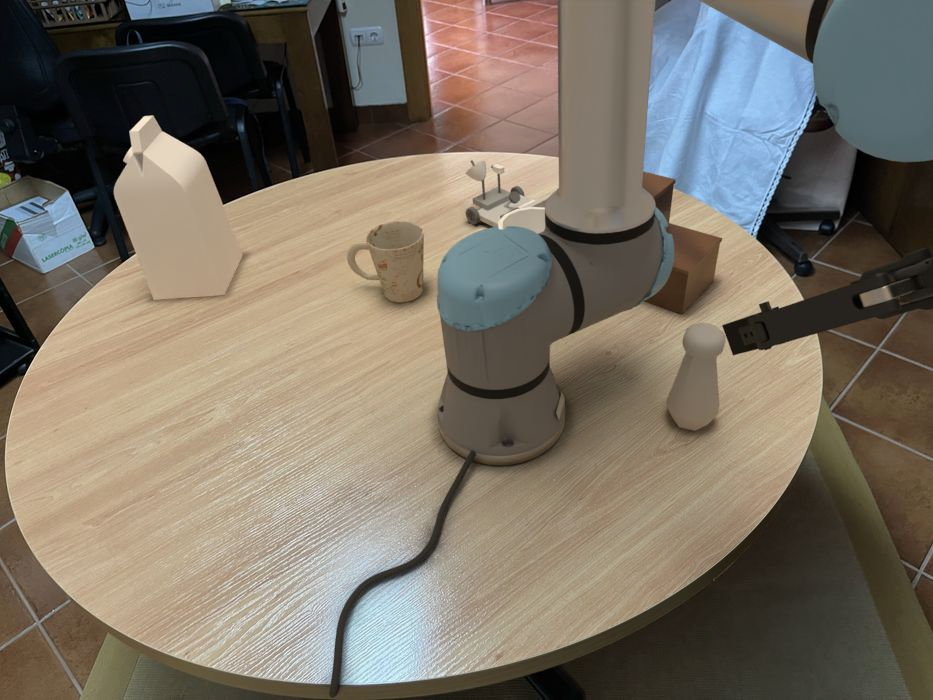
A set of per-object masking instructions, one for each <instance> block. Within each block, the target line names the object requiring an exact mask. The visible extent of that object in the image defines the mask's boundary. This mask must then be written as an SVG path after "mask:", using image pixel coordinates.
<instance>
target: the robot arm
mask: <svg viewBox="0 0 933 700" xmlns="http://www.w3.org/2000/svg"><path fill="white" fill-rule="evenodd" d="M556 1H557V6H556V7H557V116H558V117H557V121H558V123H557V125H558V127H557V130H558V131H557V132H558V134H557V136H558V137H557V138H558V188H557V189H556V190H554V191H555V192H554V191H553V192H554V193H553V194H552V195H550V196H549V198H548V199H547V201H546V203H545V230H544V231H543V232H541V233H538V234H537V233H535V232H534V231H532V230H529V229H526V228H522V227H515V226H507V227H506V228H505V229H502V230H500V229H499V228H498V227H493V226H492V227H488V228H485V229H481V230H478V231H476V232H473V233H471V234H468V235H467V236H465V237H464V238H461V239H460V240H459V241H457V242H456V243H455V244H454V245H453V246H452V247H450V248H449V250H447V252H446V253H445V254H444V256H443V257H442V259H441V262H440V264H439V267H438V270H437V276H436V278H437V279H436V285H437V286H436V287H437V294H436V307H437V310H438V313H439V318H440V324H441V325H440V326H441V332H442V340H443V348H444V355H445V362H446V363H445V364H446V371H447V372H446V375H445V378H444V379H445V380H444V382H443V386H442V389H441V393H440V396H439V400H438V403H437V422H438V429H439V431H440V435H441V437H442V439H443V441H444V442H445V444H447V447H449V448H450V449H451V450H452V451H454V452H455V453H456V454H457V455H459V456H461V457H463V458H465V460H464V462H463V464H462V466H461V468H460V470H459V472H458V473H457V475H456V476H455V479H454V480H453V482H452V484H451V486H450V487H449V490H448V491H447V493H446V495H445V497H444V499H443V501H442V503H441V505H440V507H439V510H438V513H437V515H436V519H435V522H434V526H433V530H432V533H431V535H430V538H429V540H428V541H427V543H426V545H425V547H424V548H423V549H422V550H421V552H419V553H418V554H417V555H416V556H414V557H413V558H411V559H410V560H408V561H407V562H404V563H402V564H400V565H397V566H395V567H392V568H389V569H385V570H383V571H380V572H378V573H376V574H373V575H371V576H370V577H368V578H367V579H365V580H364V581H362V582H361V583H360V584H359V585H358V586H357V587H356V588H355V589H353V592H352V593H351V594H350V596H349V597H348V599H347V600H346V601H345V604H344V605H343V607H342V610H341V612H340V614H339V618H338V622H337V626H336V631H335V638H334V651H333V662H332V663H333V664H332V671H331V672H332V673H331V679H330V685H329V686H330V687H329V694H328V695H329V697H330V698H335V697H336V696H337V695H338V694H339V686H340V680H341V673H342V663H343V650H344V649H343V648H344V637H345V630H346V625H347V621H348V618H349V615H350V613H351V611H352V609H353V607H354V606H355V604H356V602H357V601H358V599H359V598H360V597H361V595H363V593H364V592H365V591H366V590H367V589H369V588H370V587H371V586H373V585H375V584H377V583H378V582H380V581H384V580H385V579H389V578H392V577H395V576H398V575H401V574H402V573H406V572H407V571H410V570H411V569H414V568H415V567H417V566H418V565H419V564H421V563H422V562H424V560H425V559H426V558H428V556H429V555H430V554H431V552H433V549H434V548H435V546H436V544H437V542H438V540H439V537H440V534H441V530H442V528H443V523H444V519H445V516H446V513H447V511H448V508H449V506H450V504H451V502H452V500H453V498H454V496H455V495H456V493H457V491H458V489H459V487H460V485H461V483H462V482H463V480H464V478H465V477H466V474H467V472H468V471H469V469H470V467H471V465H472V464H473V462H474V463H478V464H482V465H488V466H489V465H490V466H511V465H516V464H517V465H518V464H520V463H524V462H528V461H531V460H532V459H533V460H534V459H535V458H537V457H539V456H541V455H543V454H544V453H546V452H547V451H548V450H550V449H551V448H552V447H553V446H554V445H555V444H556V443H557V441H558V440H559V439H560V437H561V435H562V433H563V431H564V429H565V425H566V403H565V400H566V398H565V396H564V394H563V392H562V391H561V389H560V387H559V385H558V384H557V383H556V379H555V376H554V372H553V370H552V368H551V364H550V363H551V361H550V358H551V357H550V356H551V353H550V352H551V345H552V344H553V343H555V342H557V341H559V340H561V339H564V338H566V337H568V336H570V335H573V334H575V333H577V332H579V331H581V330H584V329H586V328H589V327H590V326H593V325H596V324H598V323H600V322H603V321H605V320H607V319H609V318H612V317H614V316H616V315H619V314H621V313H623V312H626V311H630V310H632V309H633V308H636V307H638V306H640V305H642V303H644V302H646V301H645V300H646V299H648V298H650V297H652V296H654V295H655V294H656V293H657V292H659V291H660V290H661V288H662V287H663V286H664V285H665V283H666V282H667V280H668V278H669V276H670V273H671V270H672V267H673V262H674V242H673V236H672V234H668V233H667V227H668V226H669V225H668V223H667V220H666V219H665V217H664V215H663V214H662V213H661V212H660V211H659V209H658V208H657V207H656V203H655V200H654V198H653V197H652V196H651V195H650V194H649V193H648V192H647V191H646V190H645V189H644V188H643V187H642V180H643V171H644V166H645V165H644V164H645V151H646V136H647V125H648V124H647V122H648V111H649V96H650V83H651V82H650V81H651V67H652V55H653V42H654V39H653V37H654V28H655V25H654V24H655V12H656V0H556ZM698 1H699V2H701V3H702V4H704V5H706V6H708V7H710V8H711V9H714V10H715V11H717V12H719V13H721V14H722V15H724V16H726V17H728V18H730V19H732V20H734V21H735V22H736V23H739V24H741V25H742V26H743V27H746V28H748V29H749V30H752V32H755V33H756V34H758V35H761V36H762V37H764V38H766V39H767V40H769V41H771V42H772V43H774V44H776V45H778V46H780V47H782V48H783V49H785V50H787V51H789V52H791V53H793V54H794V55H796V56H797V57H800V58H802V59H804V60H806V61H807V62H809V63H811V64H812V72H813V73H812V74H813V82H814V83H813V84H814V85H813V86H814V91H815V94H816V97H817V99H818V102H819V105H820V106H822V107H823V108H825V111H826V112H827V115H828V117H829V118H830V120H831V122H832V123H833V125H834V128H835V129H834V130H835V132H836V133H837V134H839V136H840V137H841V138H842V139H843V140H844V141H846V142H847V143H849V144H850V145H851V146H852V147H854V148H856V149H857V150H859V151H861V152H863V153H864V154H867V155H870V156H871V157H875V158H878V159H883V160H887V161H891V162H900V163H917V162H927V161H928V162H929V161H933V0H698ZM901 303H902V304H901ZM758 306H759V309H760V311H759V312H757V313H754V314H751V315H748V316H745V317H742V318H739V319H736V320H733V321H731V322H727V323H724V324H722V325H721V327H722V329H723V333H724V335H725V339H726V340H727V343H728V345H729V348H730V351H731V355H732V356H736V355H741V354H744V353H748V352H752V351H757V350H759V351H768V350H771V349H772V348H773V347H775V346H778V345H779V346H780V345H782V344H786V343H789V342H793V341H795V340H799V339H803V338H806V337H809V336H814V335H816V334H821V333H824V332H827V331H830V330H834V329H837V328H841V327H845V326H847V325H851V324H855V323H859V322H861V321H866V320H870V319H873V318H876V319H879V320H885V319H888V318H892V317H895V316H899V315H902V314H905V313H908V312H912V311H916V310H923V311H929V310H933V249H932V247H931V245H929V246H926V247H923V248H920V249H917V250H914V251H911V252H907V253H906V254H904V255H903V256H902V257H901V258H900V259H899V260H896V261H893V262H891V263H887V264H884V265H882V266H879V267H875V268H872V269H869V270H867V271H865V272H863V273H862V274H861V275H860V278H859V279H857V280H854V281H851V282H850V284H848V285H844V286H842V287H839V288H836V289H833V290H830V291H827V292H824V293H820V294H818V295H815V296H812V297H809V298H806V299H803V300H800V301H796V302H794V303H791V304H788V305H784V306H781V307H779V306H774V307H771V303H770V301H769V300H767V301H764V302H761V303H759V304H758Z"/></svg>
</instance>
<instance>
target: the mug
mask: <svg viewBox="0 0 933 700" xmlns="http://www.w3.org/2000/svg"><path fill="white" fill-rule="evenodd" d="M424 234H425V233H424V230H423V228H422V227H421V226H420V225H419V224H417V223H415V222H411V221H406V220H395V221H389V222H384V223H381V224H379V225H377V226H375V227H373V228H372V229H371V230H370V231H369V232H368V233H367V235H366V237H365V239H366V241H357V242H354V243H353V244H352V245H350V247H349V249H348V250H347V254H346V260H347V264H348V266H349V268H350V269H351V271H353V273H354V274H356V275H358V276H359V277H361V278H363V279H365V280H368V281H379V283H380V286H381V289H382V293H383V295H384V297H385V298H386V299H387V300H389V301H390V302H394V303H408V302H412V301H414V300H416V299H418V298H420V296H421V295H422V294H423V291H424V262H425V261H424V255H425V254H424V253H425V252H424V251H425V250H424V246H425V245H424V244H425V243H424V241H425V240H424V239H425V237H424ZM362 250H366V251H367V250H368V251H369V254H370V257H371V260H372V263H373V265H374V269H375V272H376V274H371V273H367V272H365V271H363V270H362V269H361V268H360V266H359V265H358V264H357V262H356V255H357V254H358V252H359V251H362Z"/></svg>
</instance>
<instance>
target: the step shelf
mask: <svg viewBox="0 0 933 700" xmlns="http://www.w3.org/2000/svg"><path fill="white" fill-rule="evenodd" d="M675 184H676V178H673V177H667V176H664V175H660V174H656V173H652V172H647V171H644V170H643V180H642V187H643V188H644V189H645V190H646V191H647V192H648V193H649V194H650V195H651V196H652V197H653V198H654V200H655V203H656V207H657V208H658V209H659V211H660V212H661V213H662V214H663V215H664V217H665V219H666V220H667V223H668V225H669V226H668V227H667V233H668V234H672V236H673V242H674V262H673V267H672V270H671V273H670V276H669V278H668V280H667V282H666V283H665V285H664V286H663V287H662V288H661V290H660V291H659V292H657V293H656V294H655V295H654V296H652V297H650V298H648V299H646V300H645V301H644V302H647V303H648V304H652V305H655V306H658V307H661V308H663V309H665V310H669V311H672V312H674V313H678V314H681V315H683V314H684V313H685V312H686V311H687V310H688V309H689V308H690V306H691V305H693V303H694V302H695V301H696V300H697V299H698V298H699V297H700V296H701V295H702V294H703V293H704V292H705V291H706V290H707V289H708V287H710V285H712V283H714V280H715V274H716V267H717V263H718V257H719V251H720V245H721V243H722V242H723V238H722V237H720V236H716V235H714V234H713V235H712V234H709V233H705V232H702V231H700V230H699V231H698V230H695V229H692V228H689V227H685V226H681V225H678V224H674V223H671V222H670V221H671V219H670V218H671V211H672V201H673V194H674V185H675Z"/></svg>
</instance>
